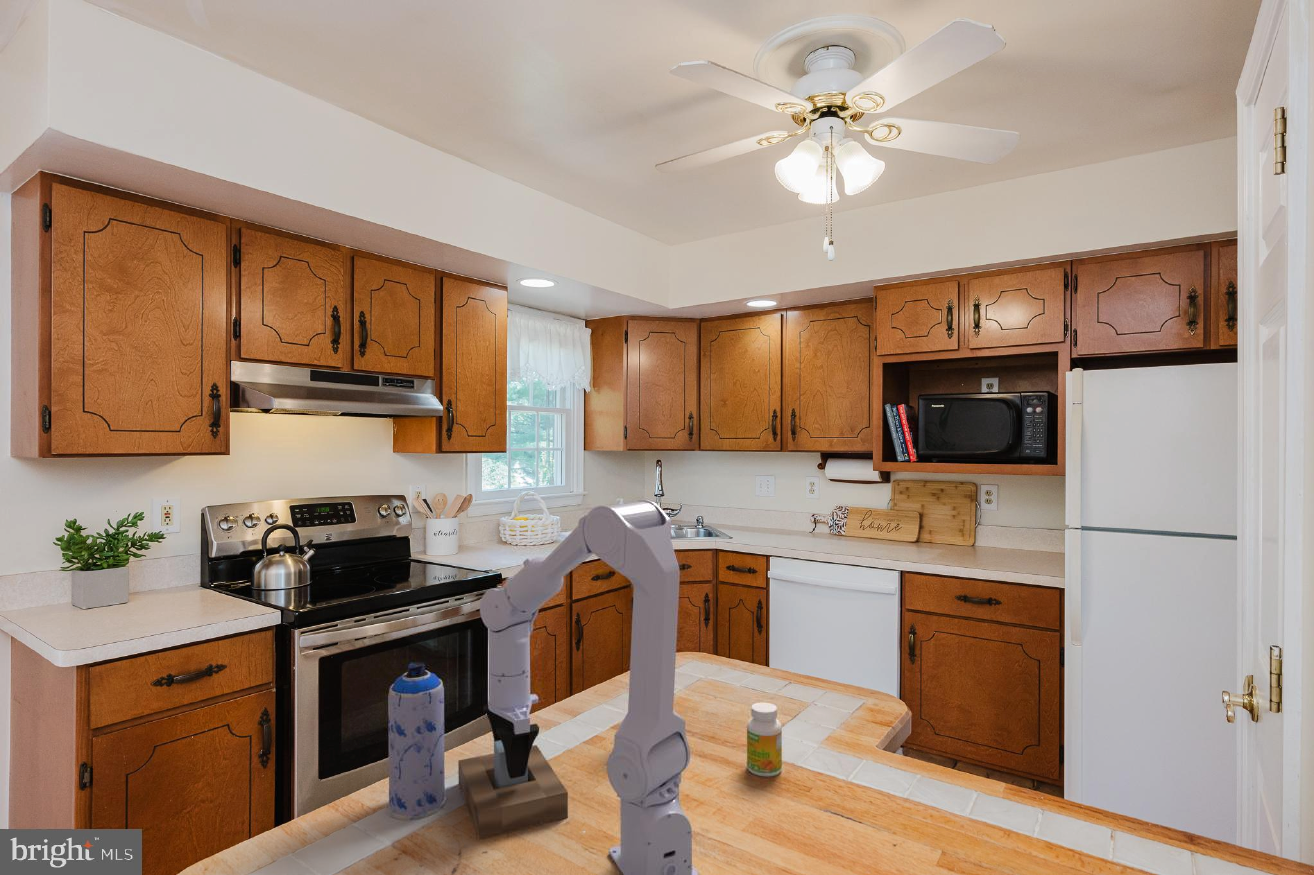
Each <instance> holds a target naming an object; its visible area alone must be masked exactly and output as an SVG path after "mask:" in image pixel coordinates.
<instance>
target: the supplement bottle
mask: <svg viewBox="0 0 1314 875" xmlns="http://www.w3.org/2000/svg"><path fill="white" fill-rule="evenodd" d="M750 710H751V712H750V713H751V718H749V719H748V721H747V724H746V766H747V770H748V771H749V772H750V773H752V774H753V775H756V776H758V777H759V776H760V777H774V776H777V775H779V774H780V773H781V772H782V770H783V768H782V766H783V762H782V761H783V759H782V758H783V756H782V755H783V752H782V750H783V749H782V748H783V746H782V742H783V740H782V739H783V738H782V732H783V731H782V730H783V729H782V724H781V722H780V720H778V719H777V717H778V708H777V706H776V705H775V704H773V703H770V702H756V703H754V704H752V705H751V709H750Z"/></svg>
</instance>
